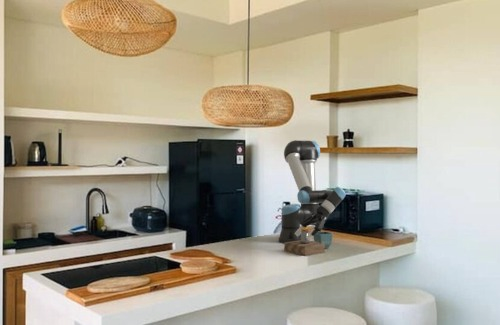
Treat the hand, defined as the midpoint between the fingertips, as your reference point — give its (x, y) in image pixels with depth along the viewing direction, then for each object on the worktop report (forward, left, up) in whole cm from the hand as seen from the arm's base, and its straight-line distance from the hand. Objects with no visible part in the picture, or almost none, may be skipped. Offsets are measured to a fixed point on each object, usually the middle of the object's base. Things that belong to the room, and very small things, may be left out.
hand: (301, 237), depth 268 cm
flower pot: (-2, +20, -9) cm, 22 cm away
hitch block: (0, +2, -8) cm, 9 cm away
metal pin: (0, +2, -8) cm, 9 cm away
